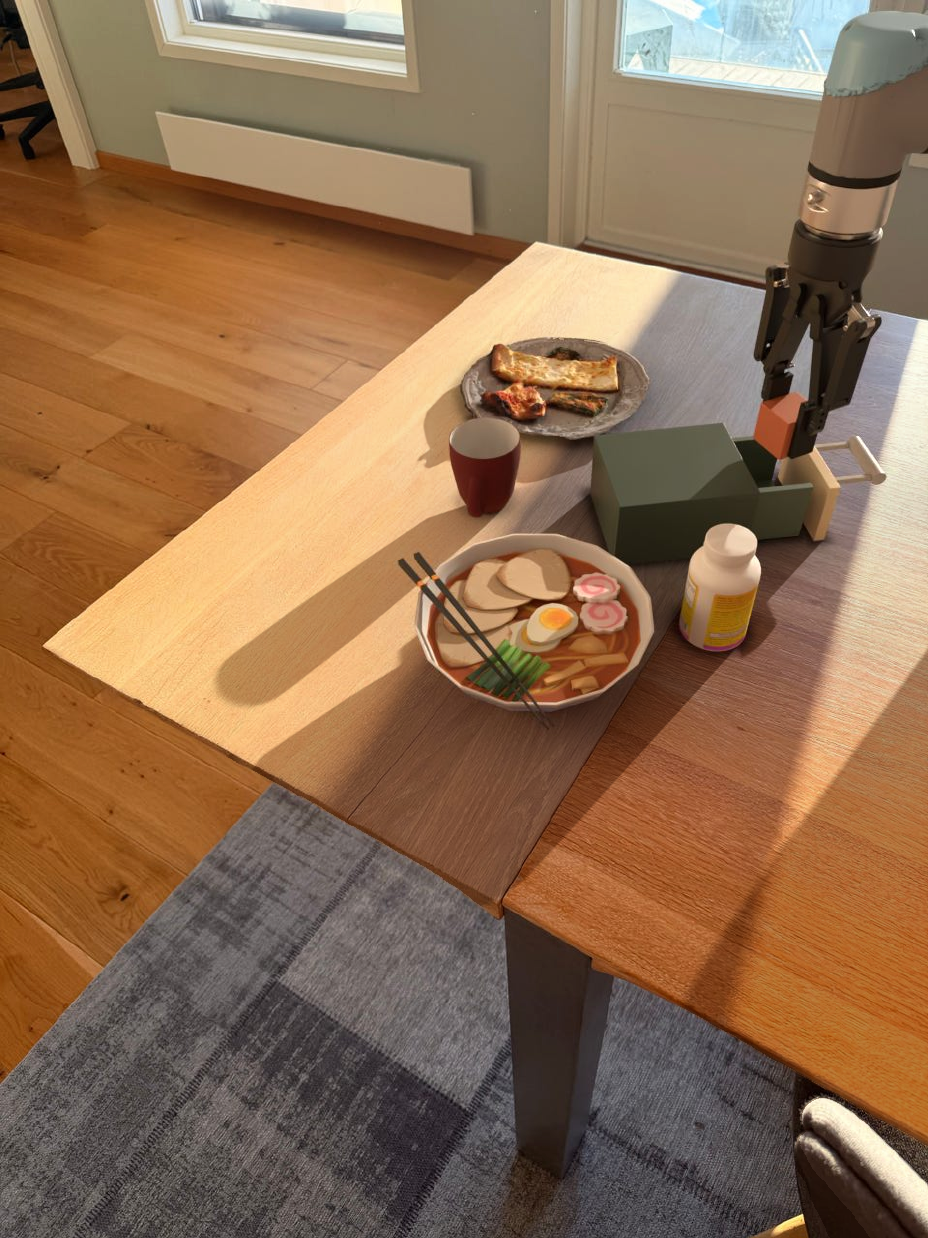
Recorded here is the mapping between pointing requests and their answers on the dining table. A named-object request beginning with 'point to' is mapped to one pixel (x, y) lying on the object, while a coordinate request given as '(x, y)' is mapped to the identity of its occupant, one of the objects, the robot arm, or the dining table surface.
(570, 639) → the ramen bowl
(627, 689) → the dining table surface
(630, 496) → the cabinet
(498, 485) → the mug
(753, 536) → the supplement bottle
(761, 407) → the block
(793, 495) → the drawer
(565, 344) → the food plate
